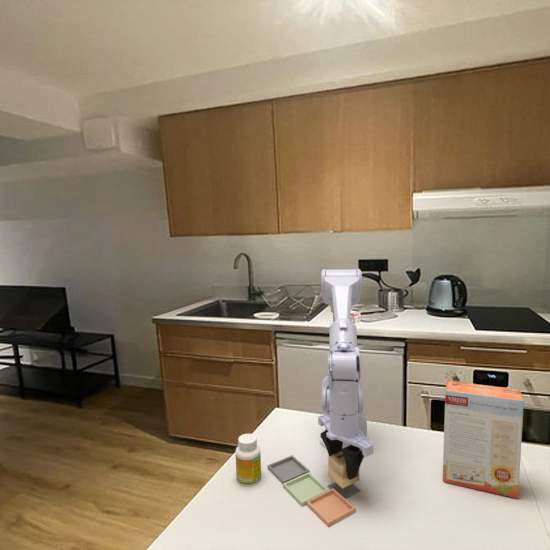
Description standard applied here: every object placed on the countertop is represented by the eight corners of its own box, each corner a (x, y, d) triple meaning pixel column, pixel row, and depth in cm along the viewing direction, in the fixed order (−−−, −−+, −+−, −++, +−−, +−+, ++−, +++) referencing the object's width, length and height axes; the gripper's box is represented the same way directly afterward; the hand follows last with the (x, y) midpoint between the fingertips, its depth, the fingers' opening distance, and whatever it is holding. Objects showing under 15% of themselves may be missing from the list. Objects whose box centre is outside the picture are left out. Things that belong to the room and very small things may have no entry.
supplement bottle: (258, 489, 84) (256, 446, 83) (233, 486, 85) (231, 444, 84) (263, 473, 89) (262, 432, 88) (240, 470, 90) (238, 430, 89)
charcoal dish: (292, 459, 94) (292, 455, 94) (309, 474, 88) (309, 470, 88) (267, 469, 90) (267, 465, 90) (283, 486, 85) (283, 481, 85)
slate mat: (345, 478, 87) (345, 477, 87) (361, 491, 82) (361, 490, 82) (327, 487, 84) (327, 486, 84) (343, 501, 80) (343, 500, 80)
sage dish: (308, 476, 88) (308, 472, 87) (328, 494, 82) (328, 489, 82) (283, 488, 84) (282, 483, 84) (301, 507, 78) (301, 502, 78)
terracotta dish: (332, 492, 82) (332, 488, 82) (355, 513, 77) (355, 508, 76) (306, 506, 79) (306, 501, 79) (328, 528, 73) (328, 523, 73)
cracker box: (514, 481, 84) (521, 388, 81) (518, 500, 79) (525, 401, 76) (442, 466, 90) (446, 378, 87) (441, 482, 85) (445, 389, 82)
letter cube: (344, 468, 86) (344, 449, 85) (359, 480, 82) (359, 459, 81) (328, 476, 84) (328, 456, 83) (342, 488, 80) (342, 467, 79)
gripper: (306, 400, 85) (307, 459, 87) (354, 430, 72) (353, 498, 74) (332, 392, 88) (332, 449, 90) (381, 419, 76) (380, 484, 78)
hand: (344, 470), depth 83 cm, fingers closed on letter cube, 4 cm apart
